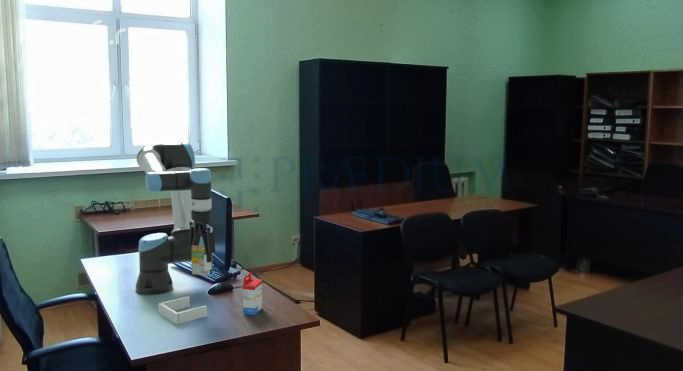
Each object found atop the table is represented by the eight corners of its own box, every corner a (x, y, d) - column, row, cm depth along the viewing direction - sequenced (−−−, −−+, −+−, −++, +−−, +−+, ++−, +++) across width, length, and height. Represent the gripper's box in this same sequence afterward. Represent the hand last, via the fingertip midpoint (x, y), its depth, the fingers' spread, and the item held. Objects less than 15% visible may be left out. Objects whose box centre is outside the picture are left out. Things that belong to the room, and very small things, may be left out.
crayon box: (212, 273, 225) (212, 244, 223) (209, 275, 222) (209, 246, 220) (194, 272, 226) (194, 243, 224) (191, 274, 223) (191, 245, 221)
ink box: (254, 315, 221) (254, 279, 218) (242, 314, 222) (242, 277, 219) (262, 308, 229) (262, 272, 227) (250, 306, 230) (250, 271, 228)
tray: (158, 313, 221) (158, 303, 220) (188, 305, 229) (188, 296, 229) (176, 324, 211) (176, 314, 210) (206, 316, 219) (206, 306, 219)
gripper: (178, 206, 224) (179, 263, 228) (207, 215, 210) (208, 275, 214) (195, 203, 229) (196, 259, 233) (225, 212, 215) (225, 271, 219)
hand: (202, 267), depth 223 cm, fingers closed on crayon box, 7 cm apart
